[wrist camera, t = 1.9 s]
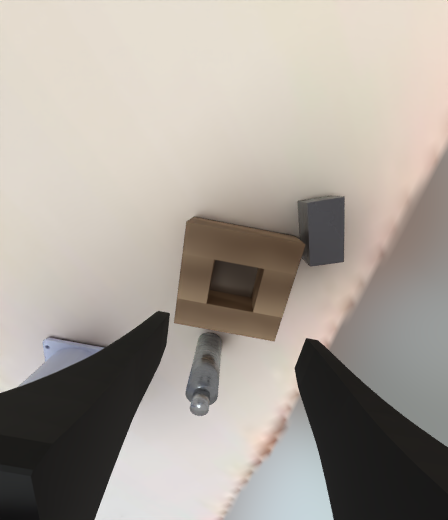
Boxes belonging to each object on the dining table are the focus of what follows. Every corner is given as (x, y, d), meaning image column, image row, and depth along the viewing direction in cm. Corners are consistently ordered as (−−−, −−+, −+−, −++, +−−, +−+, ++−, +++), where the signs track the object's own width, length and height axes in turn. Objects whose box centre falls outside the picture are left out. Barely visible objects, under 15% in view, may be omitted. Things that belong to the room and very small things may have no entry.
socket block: (269, 321, 21) (274, 341, 18) (182, 305, 21) (174, 323, 18) (294, 235, 18) (305, 244, 16) (193, 216, 18) (186, 221, 15)
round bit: (219, 354, 23) (213, 423, 16) (196, 350, 23) (180, 417, 16) (223, 335, 22) (219, 399, 15) (199, 330, 22) (184, 393, 15)
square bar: (329, 252, 19) (343, 261, 16) (300, 256, 19) (309, 266, 17) (328, 195, 17) (344, 196, 15) (297, 201, 18) (307, 202, 15)
